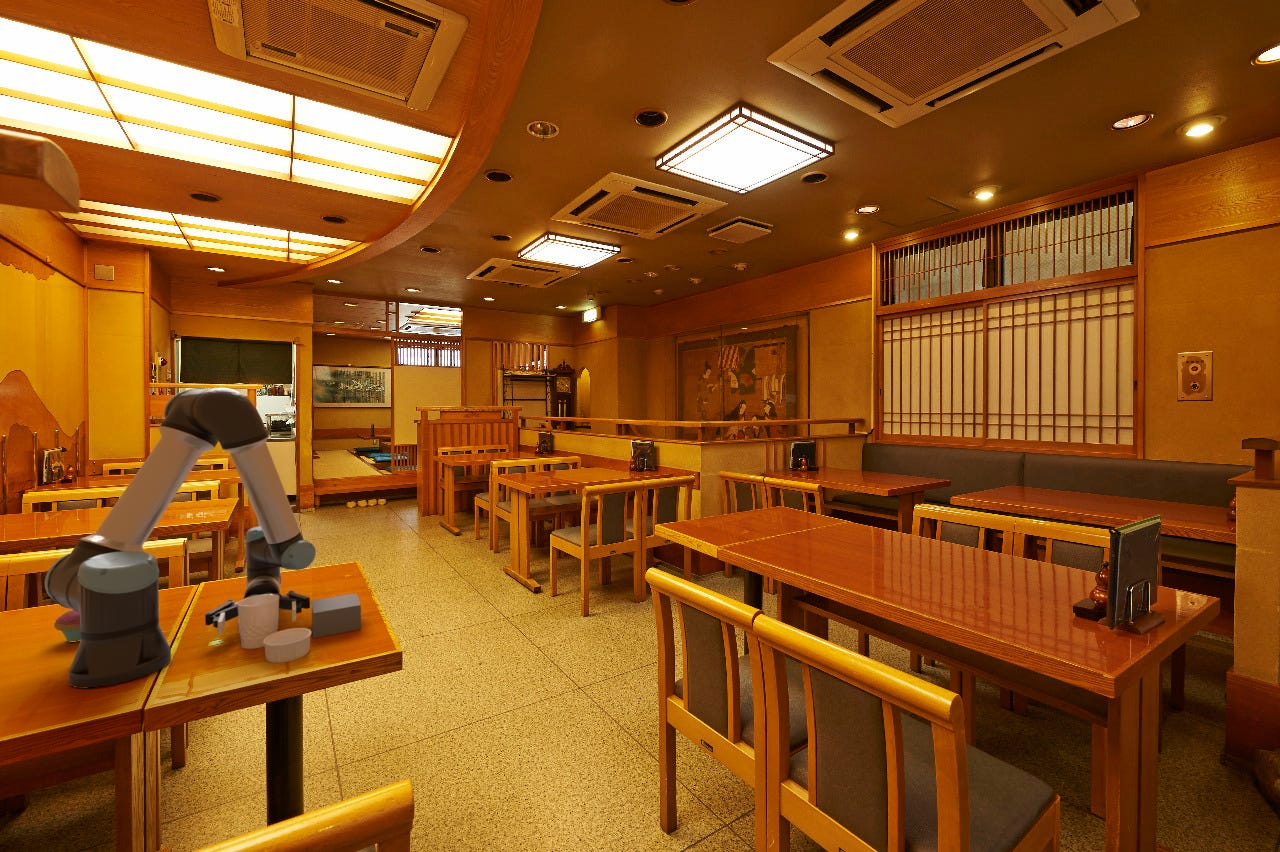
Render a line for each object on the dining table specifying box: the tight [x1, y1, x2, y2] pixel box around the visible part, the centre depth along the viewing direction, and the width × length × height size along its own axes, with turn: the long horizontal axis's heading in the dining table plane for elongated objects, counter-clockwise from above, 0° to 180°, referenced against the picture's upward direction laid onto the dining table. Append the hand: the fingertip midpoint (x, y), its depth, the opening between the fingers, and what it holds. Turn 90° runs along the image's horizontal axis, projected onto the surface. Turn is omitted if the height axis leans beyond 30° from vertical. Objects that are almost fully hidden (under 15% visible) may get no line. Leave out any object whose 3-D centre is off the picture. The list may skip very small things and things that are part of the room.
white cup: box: [237, 594, 280, 650], centre depth 124 cm, size 8×8×10 cm
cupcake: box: [53, 609, 81, 641], centre depth 126 cm, size 9×8×12 cm
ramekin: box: [263, 627, 313, 664], centre depth 118 cm, size 9×9×4 cm
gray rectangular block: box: [311, 593, 362, 639], centre depth 133 cm, size 10×10×6 cm
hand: (258, 621), depth 121 cm, fingers open, 13 cm apart
